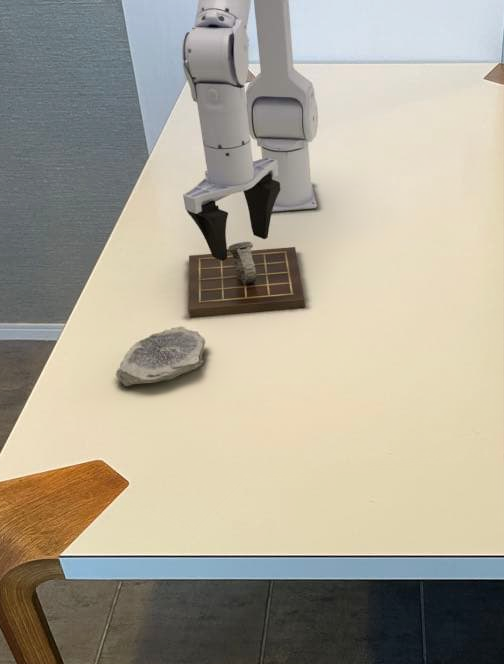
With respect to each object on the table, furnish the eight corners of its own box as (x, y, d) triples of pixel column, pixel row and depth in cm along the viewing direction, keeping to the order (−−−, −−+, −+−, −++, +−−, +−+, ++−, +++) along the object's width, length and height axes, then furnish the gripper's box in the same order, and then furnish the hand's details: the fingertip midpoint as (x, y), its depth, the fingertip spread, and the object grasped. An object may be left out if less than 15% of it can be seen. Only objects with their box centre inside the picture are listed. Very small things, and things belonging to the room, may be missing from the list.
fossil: (157, 315, 106) (219, 319, 101) (171, 343, 108) (232, 348, 103) (98, 369, 99) (161, 376, 94) (114, 397, 102) (176, 406, 97)
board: (190, 263, 121) (188, 254, 120) (295, 254, 123) (295, 245, 122) (189, 317, 111) (188, 308, 110) (305, 307, 112) (304, 298, 111)
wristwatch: (251, 266, 118) (247, 231, 114) (264, 286, 114) (260, 251, 110) (226, 271, 117) (221, 236, 113) (239, 292, 113) (234, 256, 109)
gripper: (245, 116, 109) (257, 219, 119) (158, 151, 101) (178, 259, 111) (286, 127, 106) (294, 233, 116) (199, 165, 98) (216, 274, 108)
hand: (240, 247), depth 113 cm, fingers open, 7 cm apart
